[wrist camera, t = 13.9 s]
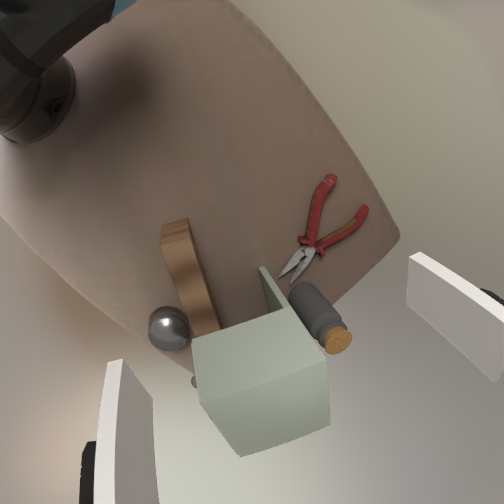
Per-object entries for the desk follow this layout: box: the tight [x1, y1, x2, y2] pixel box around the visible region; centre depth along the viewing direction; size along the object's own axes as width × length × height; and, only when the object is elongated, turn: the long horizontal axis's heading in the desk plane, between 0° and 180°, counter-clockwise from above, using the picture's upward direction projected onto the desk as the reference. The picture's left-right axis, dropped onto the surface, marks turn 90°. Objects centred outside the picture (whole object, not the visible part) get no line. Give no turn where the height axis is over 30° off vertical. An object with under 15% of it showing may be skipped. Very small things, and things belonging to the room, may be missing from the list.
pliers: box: [278, 174, 369, 285], centre depth 50 cm, size 12×20×3 cm, turn 143°
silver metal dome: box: [149, 306, 189, 351], centre depth 48 cm, size 7×7×4 cm
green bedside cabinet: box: [191, 266, 330, 457], centre depth 42 cm, size 16×16×24 cm
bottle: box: [289, 282, 352, 354], centre depth 48 cm, size 6×6×15 cm
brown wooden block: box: [160, 218, 223, 338], centre depth 44 cm, size 22×4×9 cm, turn 12°
